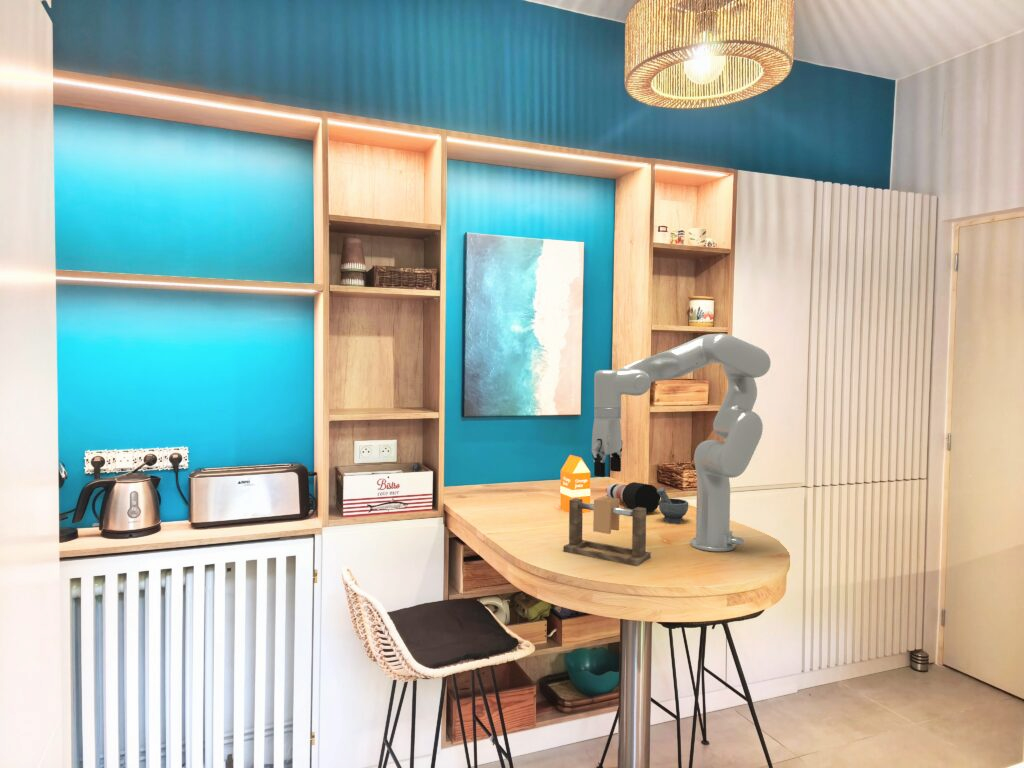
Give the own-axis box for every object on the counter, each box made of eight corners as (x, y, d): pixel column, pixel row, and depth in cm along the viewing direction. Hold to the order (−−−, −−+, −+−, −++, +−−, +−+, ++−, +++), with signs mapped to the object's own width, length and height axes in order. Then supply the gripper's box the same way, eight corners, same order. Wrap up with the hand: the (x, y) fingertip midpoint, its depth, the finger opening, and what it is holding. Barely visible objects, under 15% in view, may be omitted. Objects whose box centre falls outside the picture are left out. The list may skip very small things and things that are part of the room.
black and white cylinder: (613, 506, 266) (623, 483, 268) (653, 517, 234) (664, 491, 235) (592, 496, 264) (602, 473, 266) (630, 506, 231) (641, 479, 233)
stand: (650, 557, 184) (651, 506, 183) (637, 566, 176) (637, 512, 176) (578, 544, 197) (579, 496, 196) (563, 551, 189) (563, 501, 189)
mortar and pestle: (677, 517, 231) (678, 483, 230) (693, 523, 222) (693, 488, 221) (649, 519, 227) (650, 485, 226) (664, 526, 218) (665, 490, 218)
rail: (642, 517, 181) (642, 510, 181) (639, 518, 179) (640, 511, 179) (575, 506, 193) (575, 500, 193) (572, 507, 191) (572, 501, 191)
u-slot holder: (619, 529, 187) (619, 498, 187) (609, 534, 182) (609, 501, 182) (603, 527, 190) (604, 496, 190) (593, 531, 185) (593, 499, 185)
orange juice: (571, 513, 235) (572, 458, 234) (560, 508, 243) (560, 455, 242) (590, 511, 238) (591, 457, 237) (578, 506, 246) (578, 453, 245)
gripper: (609, 410, 194) (609, 468, 195) (581, 415, 180) (581, 477, 181) (632, 411, 190) (632, 470, 191) (605, 416, 176) (605, 480, 176)
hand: (607, 473), depth 186 cm, fingers open, 9 cm apart
